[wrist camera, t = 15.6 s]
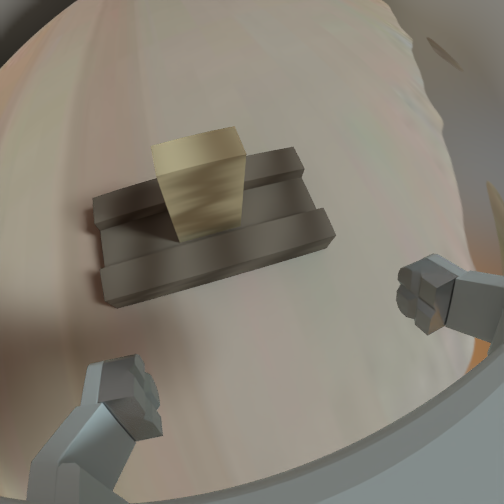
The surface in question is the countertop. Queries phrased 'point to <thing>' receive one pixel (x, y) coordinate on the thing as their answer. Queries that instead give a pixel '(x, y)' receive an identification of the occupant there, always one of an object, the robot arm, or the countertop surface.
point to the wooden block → (202, 181)
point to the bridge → (210, 246)
